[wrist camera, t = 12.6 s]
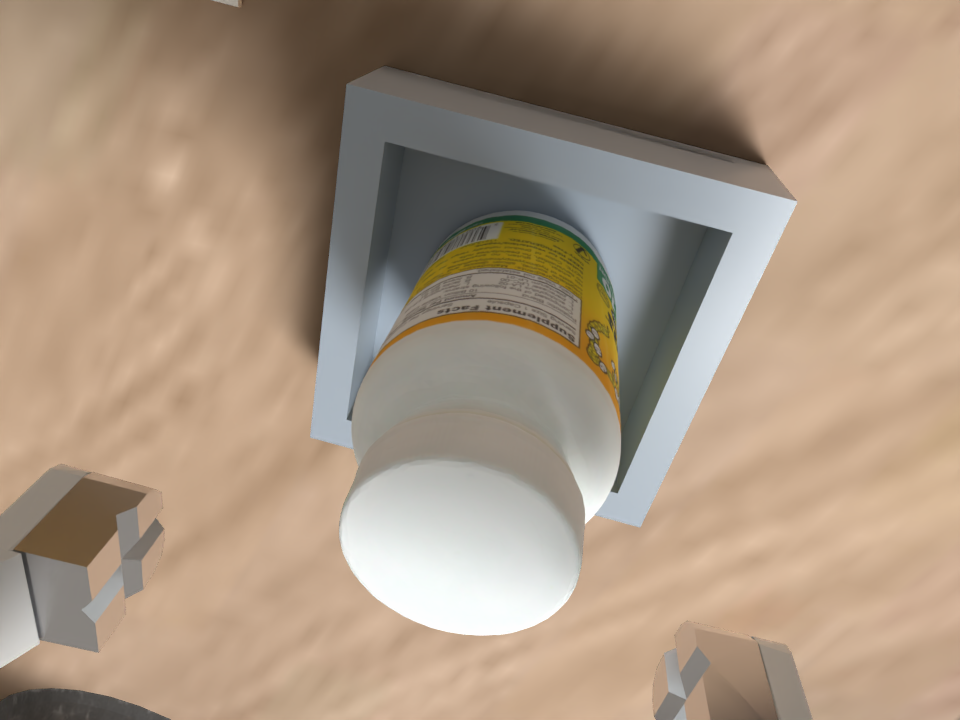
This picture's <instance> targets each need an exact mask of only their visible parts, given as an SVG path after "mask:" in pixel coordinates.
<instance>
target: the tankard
mask: <svg viewBox="0 0 960 720" xmlns="http://www.w3.org/2000/svg"><path fill="white" fill-rule="evenodd" d="M0 720H171V719H168V718H166V717H164V716H161V715H159V714H157V713H154V712H152V711H150V710H147V709H145V708H143V707H141V706H137V705H134V704H131V703H128V702H125V701H122V700H119V699H115V698H112V697H109V696H104V695H99V694H94V693H89V692H85V691H79V690H67V689H55V688H50V689H35V690H27V691H23V692H20V693H16V694H13V695H9V696H8V697H6V698H5V699H3V700H1V701H0Z"/></svg>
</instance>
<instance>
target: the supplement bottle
mask: <svg viewBox="0 0 960 720" xmlns="http://www.w3.org/2000/svg"><path fill="white" fill-rule="evenodd" d="M351 432H352V442H353V449H354V453H355V457H356V460H357V463H358V466H359V467H358V470H357V473H356V476H355V479H354V482H353V484H352V486H351V489H350V491H349V493H348V495H347V497H346V499H345V502H344V505H343V508H342V512H341V516H340V523H339V537H340V543H341V547H342V551H343V554H344V556H345V558H346V560H347V563H348V565H349V566H350V568H351V570H352V572H353V573H354V575H355V576H356V577H357V578H358V580H359V581H360V582H361V583H362V584H363V586H364V587H365V588H366V589H367V590H368V591H369V592H370V593H371V594H372V595H373V596H374V597H375V598H377V599H378V600H379V601H381V602H382V603H383V604H385V605H387V606H388V607H389V608H391V609H393V610H394V611H396V612H398V613H399V614H401V615H403V616H404V617H407V618H409V619H411V620H413V621H415V622H418V623H421V624H423V625H426V626H428V627H431V628H434V629H438V630H442V631H446V632H452V633H458V634H464V635H469V634H470V635H502V634H508V633H512V632H516V631H520V630H523V629H526V628H529V627H532V626H534V625H536V624H538V623H540V622H542V621H544V620H546V619H547V618H549V617H550V616H551V615H553V614H554V613H555V612H557V611H558V610H559V609H560V608H561V607H562V606H563V605H564V604H565V603H566V601H567V600H568V599H569V597H570V595H571V594H572V592H573V590H574V588H575V586H576V584H577V581H578V578H579V574H580V569H581V564H582V554H583V541H584V529H585V524H586V523H587V522H588V521H589V520H590V519H591V518H592V517H593V516H594V515H595V513H596V512H597V511H598V510H599V509H600V507H601V506H602V505H603V503H604V502H605V500H606V498H607V496H608V494H609V493H610V491H611V488H612V486H613V484H614V481H615V478H616V475H617V472H618V468H619V462H620V455H621V419H620V400H619V374H618V348H617V329H616V304H615V296H614V290H613V286H612V283H611V280H610V277H609V274H608V272H607V269H606V267H605V265H604V263H603V261H602V259H601V257H600V255H599V254H598V252H597V250H596V249H595V248H594V247H593V245H592V244H591V243H590V242H589V240H588V239H587V238H586V237H584V236H583V235H582V234H581V233H580V232H579V231H577V230H576V229H575V228H573V227H572V226H570V225H568V224H566V223H564V222H562V221H560V220H558V219H556V218H553V217H550V216H547V215H544V214H540V213H535V212H530V211H521V210H512V211H502V212H495V213H491V214H487V215H484V216H481V217H478V218H476V219H473V220H471V221H470V222H468V223H466V224H464V225H462V226H461V227H459V228H458V229H457V230H455V231H454V232H453V233H452V234H450V235H449V236H448V237H447V238H446V239H445V240H444V241H443V242H442V243H441V245H440V246H439V247H438V249H437V250H436V252H435V253H434V255H433V256H432V257H431V259H430V260H429V262H428V264H427V265H426V267H425V269H424V271H423V273H422V274H421V276H420V278H419V280H418V282H417V284H416V286H415V288H414V290H413V292H412V294H411V295H410V297H409V299H408V301H407V303H406V304H405V306H404V308H403V309H402V311H401V313H400V315H399V316H398V318H397V320H396V321H395V323H394V325H393V327H392V329H391V330H390V332H389V334H388V335H387V337H386V339H385V341H384V342H383V344H382V346H381V348H380V350H379V351H378V353H377V355H376V357H375V358H374V360H373V362H372V364H371V366H370V368H369V370H368V372H367V373H366V375H365V377H364V379H363V381H362V383H361V386H360V388H359V390H358V393H357V396H356V400H355V403H354V407H353V414H352V424H351Z"/></svg>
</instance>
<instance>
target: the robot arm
mask: <svg viewBox="0 0 960 720" xmlns="http://www.w3.org/2000/svg"><path fill="white" fill-rule="evenodd" d="M162 509H163V501H162V492H160V491H158V490H156V489H153V488H149V487H145V486H142V485H138V484H135V483H131V482H127V481H124V480H120V479H117V478H113V477H109V476H106V475H102V474H99V473H95V472H90V471H86V470H82V469H79V468H75V467H71V466H67V465H64V464H60V465H57V466H55V467H53V468H50V469H49V470H48V471H46V472H45V473H44V474H43V475H42V476H41V477H40V478H39V479H38V480H37V481H36V482H35V483H34V484H33V485H32V486H31V487H30V488H28V489H27V490H26V491H25V492H24V493H23V494H22V495H21V496H20V497H19V498H18V499H17V500H16V501H15V502H14V503H13V504H12V505H11V506H9V507H8V508H7V509H6V510H5V511H4V512H3V513H2V514H1V515H0V668H2V667H3V666H5V665H6V664H8V663H10V662H11V661H13V660H14V659H16V658H18V657H19V656H21V655H22V654H24V653H26V652H27V651H29V650H30V649H32V648H34V647H35V646H37V645H38V644H39V643H40V640H43V641H47V642H52V643H57V644H61V645H66V646H70V647H75V648H80V649H84V650H89V651H93V652H98V653H99V652H100V651H101V649H102V648H103V646H104V645H105V643H106V642H107V641H108V639H109V638H110V636H111V635H112V633H113V632H114V631H115V629H116V628H117V626H118V625H119V623H120V622H121V621H122V619H123V618H124V616H125V615H126V607H125V599H126V598H128V597H130V596H131V595H133V594H135V593H137V592H139V591H141V590H143V589H144V588H145V586H146V585H147V583H148V582H149V580H150V579H151V577H152V576H153V574H154V572H155V570H156V567H157V565H158V563H159V560H160V558H161V556H162V552H163V546H164V541H165V537H164V528H163V527H162V525H161V524H160V523H159V522H158V520H157V519H156V517H157V516H158V514H159V513H160V512H161V510H162ZM675 642H676V648H675V649H673V650H670V651H668V652H666V653H664V655H663V656H662V658H661V660H660V662H659V664H658V666H657V669H656V674H655V678H654V683H653V711H654V717H655V719H656V720H813V718H812V715H811V712H810V709H809V706H808V703H807V700H806V696H805V693H804V690H803V687H802V684H801V681H800V678H799V675H798V672H797V668H796V665H795V662H794V659H793V656H792V653H791V651H790V650H789V648H788V647H787V646H786V645H785V644H781V643H777V642H773V641H769V640H765V639H760V638H756V637H750V636H749V635H746V634H742V633H737V632H733V631H729V630H725V629H720V628H716V627H712V626H708V625H703V624H699V623H695V622H691V621H686V622H684V623H683V624H681V625H680V627H679V629H678V630H677V632H676V634H675Z"/></svg>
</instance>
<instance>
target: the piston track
mask: <svg viewBox="0 0 960 720" xmlns="http://www.w3.org/2000/svg"><path fill="white" fill-rule="evenodd" d="M212 1H216V2H220V3H224V4H228V5H231V6H235V7H242V0H212Z"/></svg>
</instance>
